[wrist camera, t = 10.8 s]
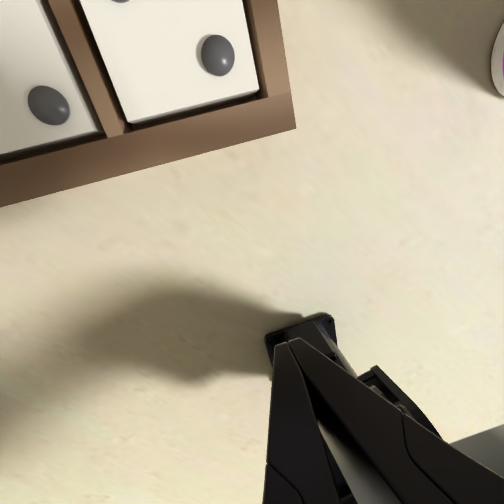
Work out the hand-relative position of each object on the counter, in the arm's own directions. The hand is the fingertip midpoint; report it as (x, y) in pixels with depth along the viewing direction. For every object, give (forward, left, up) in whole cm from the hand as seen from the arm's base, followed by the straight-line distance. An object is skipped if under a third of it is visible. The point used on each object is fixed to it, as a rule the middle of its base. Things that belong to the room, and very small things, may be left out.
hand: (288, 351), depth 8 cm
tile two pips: (+11, +1, -10) cm, 15 cm away
